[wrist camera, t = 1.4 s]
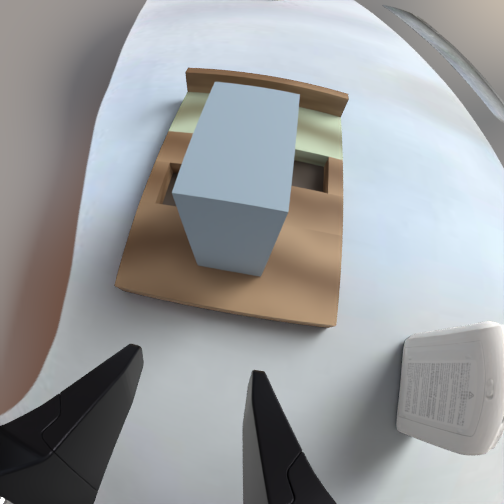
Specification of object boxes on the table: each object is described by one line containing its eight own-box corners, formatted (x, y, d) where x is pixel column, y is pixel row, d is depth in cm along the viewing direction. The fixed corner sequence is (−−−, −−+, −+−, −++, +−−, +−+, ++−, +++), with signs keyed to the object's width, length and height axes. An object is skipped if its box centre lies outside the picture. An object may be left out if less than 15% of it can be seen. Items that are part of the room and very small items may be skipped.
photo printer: (423, 428, 20) (512, 448, 8) (390, 436, 20) (479, 469, 8) (431, 332, 23) (526, 311, 12) (399, 333, 23) (498, 313, 12)
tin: (260, 276, 22) (288, 212, 12) (197, 265, 22) (172, 192, 12) (274, 189, 25) (299, 94, 14) (218, 180, 25) (215, 81, 14)
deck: (327, 327, 23) (350, 322, 18) (122, 290, 23) (99, 276, 18) (335, 122, 31) (347, 93, 26) (191, 98, 31) (188, 67, 26)
